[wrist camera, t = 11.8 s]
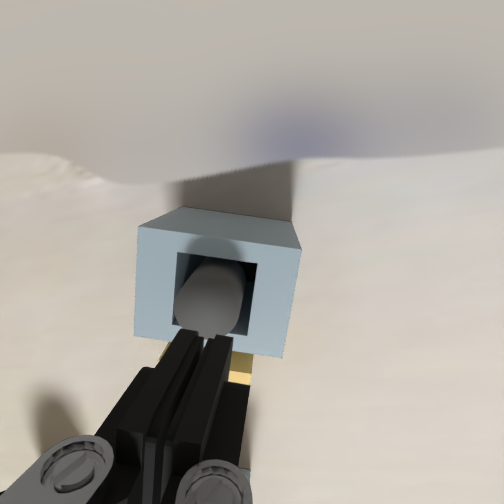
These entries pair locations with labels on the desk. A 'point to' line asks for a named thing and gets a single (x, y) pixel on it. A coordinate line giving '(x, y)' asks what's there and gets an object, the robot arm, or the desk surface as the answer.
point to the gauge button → (211, 297)
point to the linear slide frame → (227, 247)
